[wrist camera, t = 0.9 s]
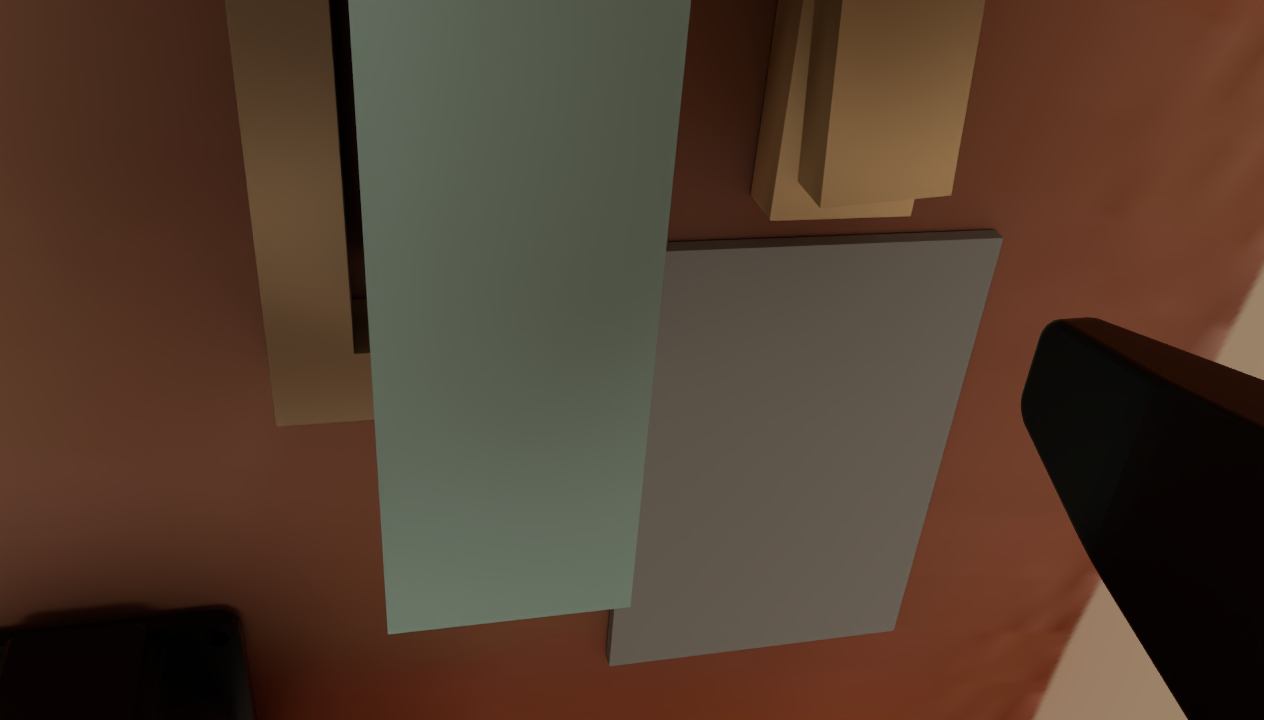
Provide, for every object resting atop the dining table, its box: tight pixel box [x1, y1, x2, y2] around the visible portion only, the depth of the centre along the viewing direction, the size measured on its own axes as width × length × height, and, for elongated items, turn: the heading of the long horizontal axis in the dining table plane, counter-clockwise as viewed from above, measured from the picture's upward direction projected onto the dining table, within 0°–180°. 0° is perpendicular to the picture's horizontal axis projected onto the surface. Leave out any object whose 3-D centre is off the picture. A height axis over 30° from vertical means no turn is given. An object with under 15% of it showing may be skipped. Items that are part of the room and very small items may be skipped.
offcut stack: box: [751, 0, 986, 221], centre depth 20 cm, size 8×3×2 cm, turn 176°
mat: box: [606, 230, 1003, 666], centre depth 27 cm, size 12×8×1 cm, turn 176°
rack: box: [224, 0, 374, 427], centre depth 18 cm, size 15×7×2 cm, turn 176°
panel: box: [348, 0, 691, 634], centre depth 15 cm, size 10×3×10 cm, turn 176°
